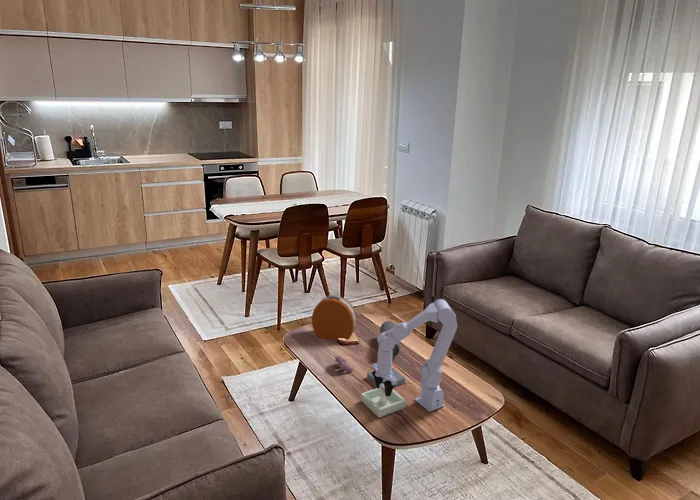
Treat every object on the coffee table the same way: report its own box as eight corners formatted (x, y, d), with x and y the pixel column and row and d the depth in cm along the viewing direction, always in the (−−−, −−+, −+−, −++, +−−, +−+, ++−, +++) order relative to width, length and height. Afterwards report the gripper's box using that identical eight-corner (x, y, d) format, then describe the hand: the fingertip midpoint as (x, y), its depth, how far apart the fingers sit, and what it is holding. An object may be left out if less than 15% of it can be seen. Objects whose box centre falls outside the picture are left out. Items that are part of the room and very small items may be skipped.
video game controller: (338, 366, 234) (331, 355, 231) (346, 360, 235) (340, 350, 232) (345, 377, 225) (339, 366, 222) (354, 371, 226) (347, 360, 223)
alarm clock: (357, 334, 262) (358, 294, 255) (352, 342, 253) (353, 301, 246) (317, 328, 267) (317, 289, 260) (311, 336, 258) (311, 296, 251)
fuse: (389, 403, 203) (390, 386, 201) (382, 406, 201) (383, 389, 199) (383, 399, 206) (384, 382, 203) (376, 402, 204) (377, 384, 202)
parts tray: (405, 407, 201) (406, 400, 200) (378, 417, 195) (379, 410, 194) (387, 391, 212) (387, 384, 211) (361, 400, 206) (361, 393, 205)
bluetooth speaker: (400, 360, 237) (401, 341, 234) (380, 359, 237) (381, 341, 234) (397, 337, 259) (397, 320, 256) (379, 337, 259) (379, 319, 256)
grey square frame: (405, 383, 218) (405, 378, 218) (382, 391, 213) (382, 385, 212) (389, 370, 228) (389, 365, 227) (367, 377, 222) (367, 372, 222)
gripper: (366, 356, 202) (365, 385, 206) (387, 373, 190) (385, 404, 194) (380, 352, 205) (379, 380, 209) (402, 368, 193) (400, 398, 197)
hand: (383, 391), depth 202 cm, fingers open, 6 cm apart
